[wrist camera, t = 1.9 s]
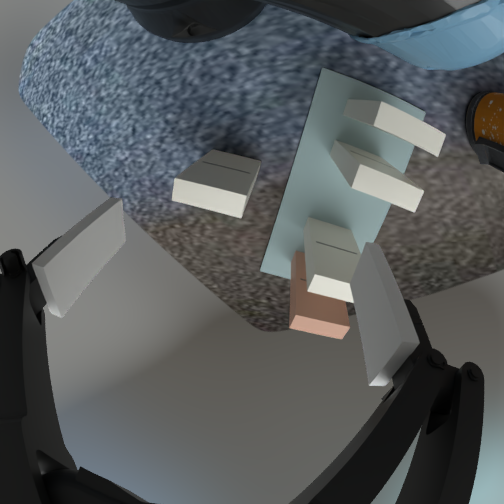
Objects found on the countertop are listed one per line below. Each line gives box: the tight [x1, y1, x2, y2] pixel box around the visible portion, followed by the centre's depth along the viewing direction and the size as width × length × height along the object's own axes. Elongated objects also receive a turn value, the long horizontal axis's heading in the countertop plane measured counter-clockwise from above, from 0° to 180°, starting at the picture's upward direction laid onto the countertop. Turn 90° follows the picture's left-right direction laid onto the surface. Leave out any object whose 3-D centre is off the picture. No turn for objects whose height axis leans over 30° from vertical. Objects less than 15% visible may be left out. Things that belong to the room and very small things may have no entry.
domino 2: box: [303, 217, 361, 303], centre depth 27 cm, size 2×5×11 cm, turn 76°
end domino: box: [289, 251, 350, 339], centre depth 29 cm, size 2×5×11 cm, turn 76°
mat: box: [260, 68, 426, 279], centre depth 29 cm, size 25×12×1 cm, turn 166°
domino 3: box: [343, 99, 446, 157], centre depth 20 cm, size 2×5×11 cm, turn 76°
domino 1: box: [172, 149, 261, 218], centre depth 25 cm, size 2×5×11 cm, turn 76°
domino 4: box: [330, 140, 424, 213], centre depth 22 cm, size 2×5×11 cm, turn 77°
